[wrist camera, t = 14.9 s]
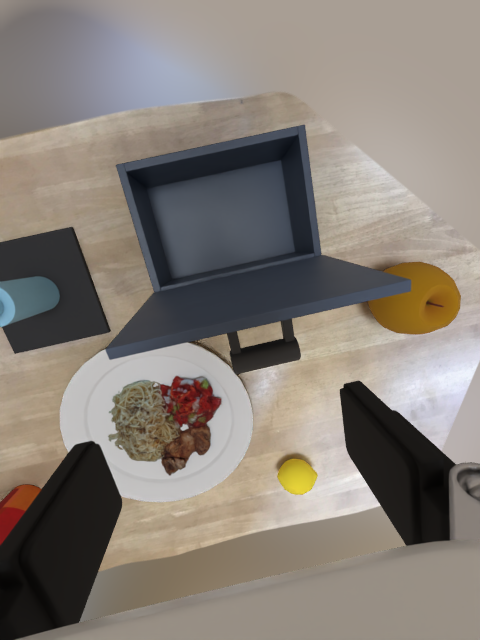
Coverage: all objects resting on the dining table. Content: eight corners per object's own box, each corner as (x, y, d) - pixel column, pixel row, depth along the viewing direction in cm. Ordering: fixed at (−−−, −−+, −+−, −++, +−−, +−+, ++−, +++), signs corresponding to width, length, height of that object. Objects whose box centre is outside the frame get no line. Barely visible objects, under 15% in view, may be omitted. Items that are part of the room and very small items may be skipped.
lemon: (273, 476, 49) (279, 503, 44) (275, 451, 48) (282, 476, 43) (310, 475, 50) (321, 501, 45) (313, 451, 48) (324, 475, 43)
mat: (-31, 249, 36) (-35, 249, 35) (73, 227, 36) (70, 227, 35) (17, 352, 40) (14, 353, 39) (110, 331, 40) (109, 332, 39)
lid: (104, 349, 16) (132, 414, 18) (411, 279, 17) (410, 349, 19) (153, 292, 30) (166, 333, 32) (323, 254, 30) (327, 296, 32)
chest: (140, 185, 35) (115, 164, 27) (284, 153, 36) (305, 124, 27) (168, 285, 39) (155, 295, 31) (299, 256, 39) (322, 258, 31)
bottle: (16, 280, 37) (-61, 292, 26) (51, 272, 37) (-13, 281, 27) (31, 313, 38) (-38, 337, 28) (65, 306, 38) (8, 327, 28)
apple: (424, 272, 42) (501, 281, 30) (395, 329, 44) (458, 357, 32) (370, 251, 40) (430, 251, 29) (343, 311, 42) (389, 333, 31)
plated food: (42, 461, 45) (28, 477, 41) (103, 300, 39) (93, 305, 36) (206, 512, 50) (206, 530, 47) (283, 378, 44) (288, 388, 41)
